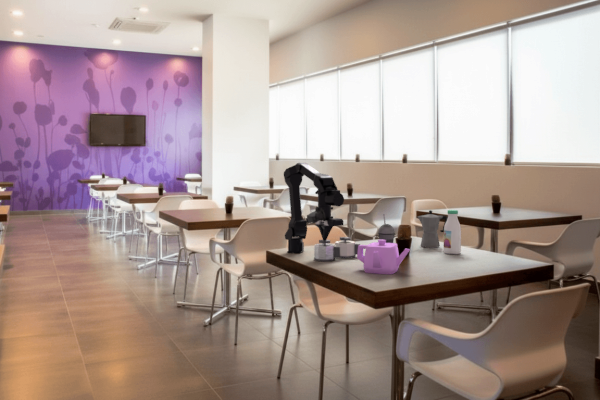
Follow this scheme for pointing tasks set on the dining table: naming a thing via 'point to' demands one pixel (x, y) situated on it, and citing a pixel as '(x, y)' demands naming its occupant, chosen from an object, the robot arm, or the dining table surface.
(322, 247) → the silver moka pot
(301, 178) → the robot arm
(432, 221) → the coffeepot
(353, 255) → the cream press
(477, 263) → the dining table surface
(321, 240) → the steel plunger
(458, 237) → the milk bottle
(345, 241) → the cream plunger
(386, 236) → the beverage cup
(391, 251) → the teakettle
